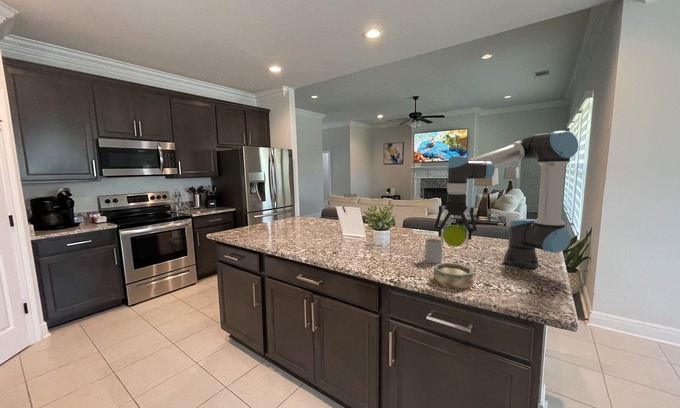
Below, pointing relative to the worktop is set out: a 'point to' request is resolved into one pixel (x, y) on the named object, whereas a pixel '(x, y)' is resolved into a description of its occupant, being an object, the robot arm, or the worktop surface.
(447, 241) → the fruit
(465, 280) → the shallow stone bowl
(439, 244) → the mug
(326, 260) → the worktop surface
